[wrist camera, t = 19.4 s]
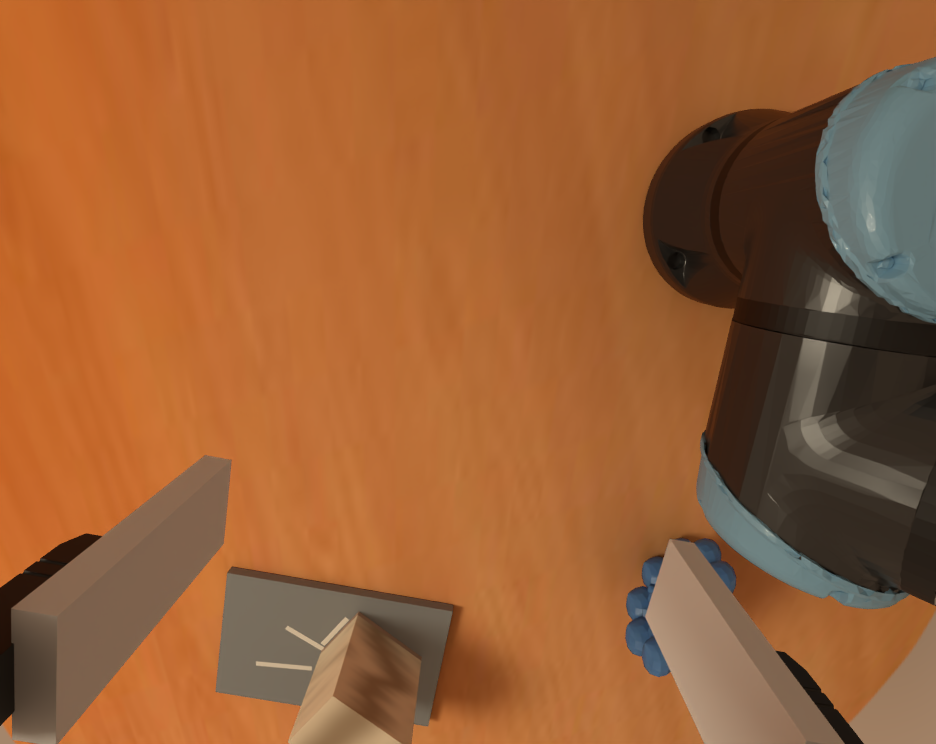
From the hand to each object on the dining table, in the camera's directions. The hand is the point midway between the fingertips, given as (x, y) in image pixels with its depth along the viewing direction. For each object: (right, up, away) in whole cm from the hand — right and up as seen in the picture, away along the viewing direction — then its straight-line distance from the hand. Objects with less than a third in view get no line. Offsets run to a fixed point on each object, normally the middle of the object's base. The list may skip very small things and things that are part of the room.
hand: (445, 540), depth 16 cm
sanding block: (-9, -23, +37) cm, 45 cm away
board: (-13, -23, +38) cm, 46 cm away
